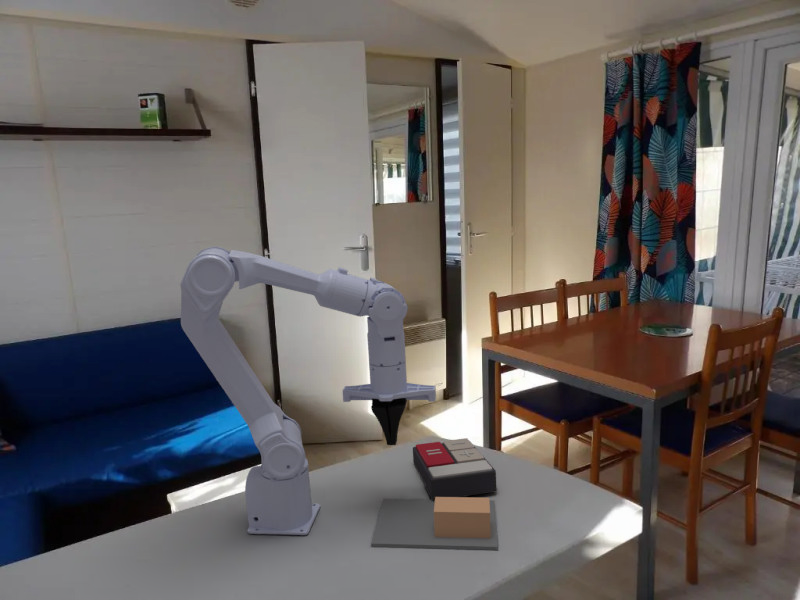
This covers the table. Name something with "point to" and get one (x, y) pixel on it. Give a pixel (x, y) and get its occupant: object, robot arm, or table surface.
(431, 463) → the calculator
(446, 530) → the block
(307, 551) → the table surface
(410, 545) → the mat
